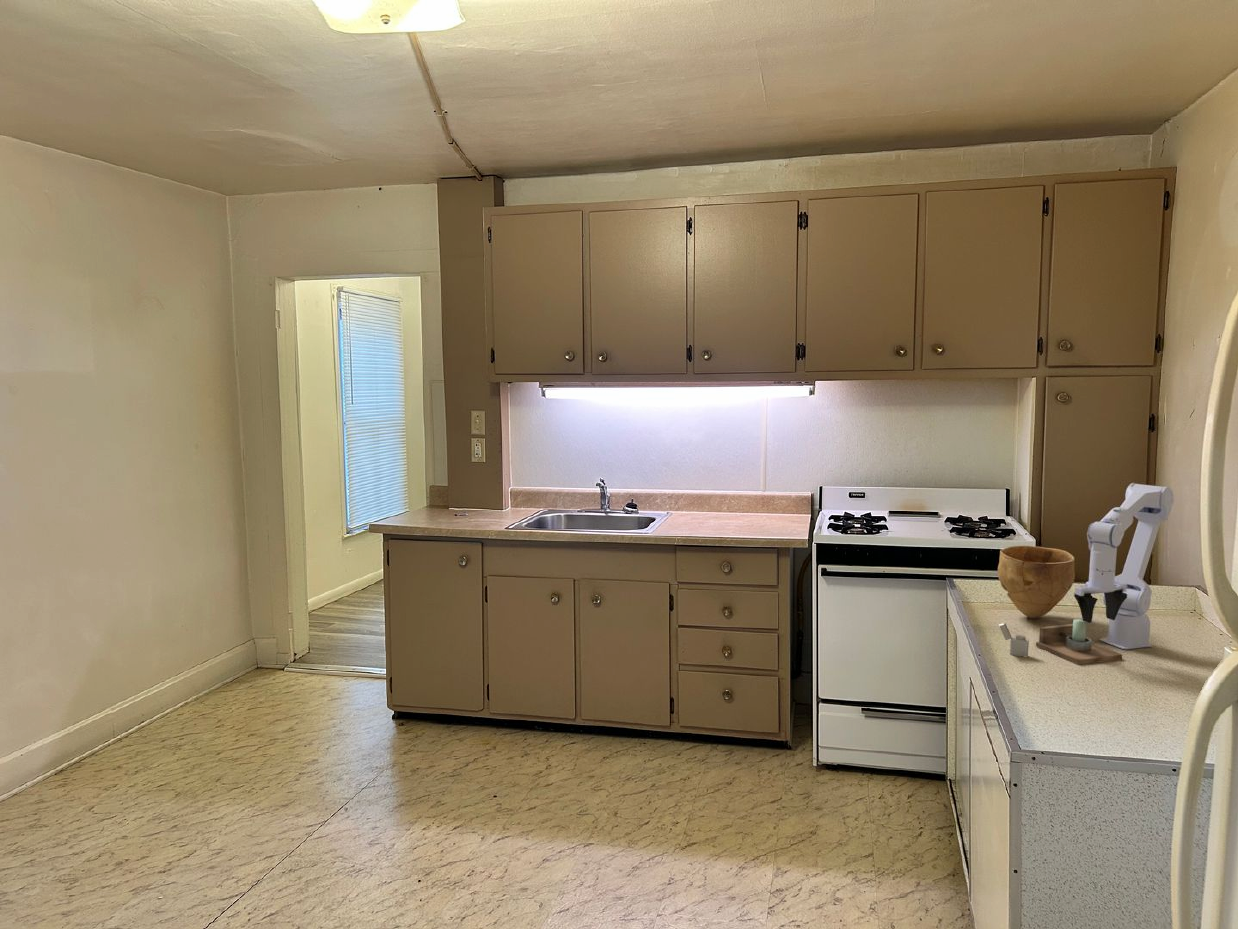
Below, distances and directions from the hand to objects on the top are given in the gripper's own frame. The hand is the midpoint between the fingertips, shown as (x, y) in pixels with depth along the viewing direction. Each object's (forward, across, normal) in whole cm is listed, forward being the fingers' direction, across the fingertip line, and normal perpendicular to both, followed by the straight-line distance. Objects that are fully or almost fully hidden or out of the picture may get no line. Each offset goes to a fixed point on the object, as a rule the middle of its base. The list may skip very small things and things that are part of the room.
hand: (1098, 620), depth 214 cm
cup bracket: (+9, +3, -3) cm, 10 cm away
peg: (+8, +3, -3) cm, 9 cm away
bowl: (+10, -8, -31) cm, 33 cm away
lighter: (+10, +20, -7) cm, 23 cm away
